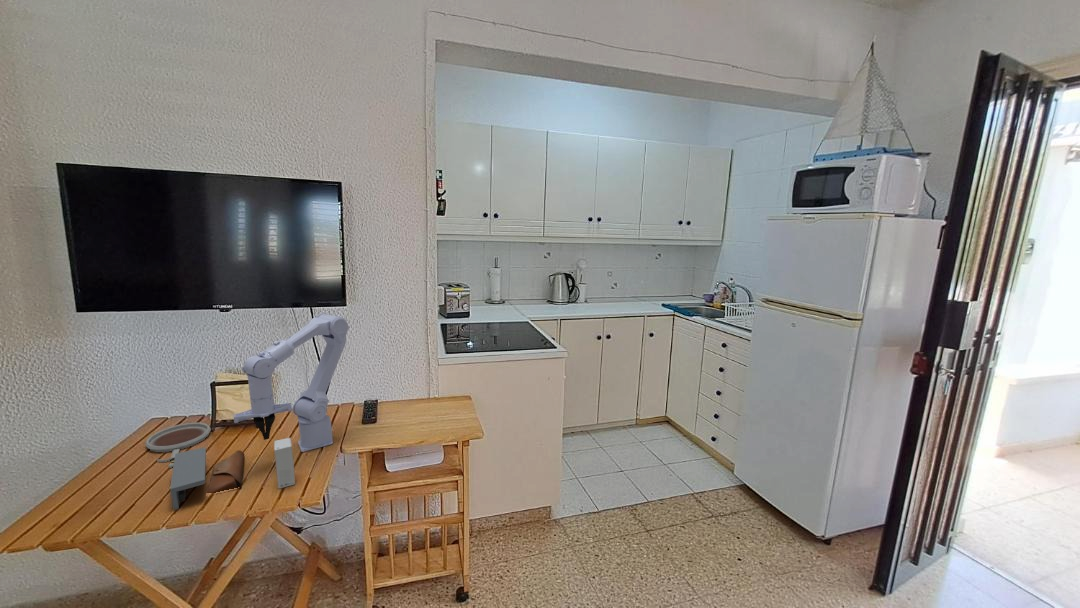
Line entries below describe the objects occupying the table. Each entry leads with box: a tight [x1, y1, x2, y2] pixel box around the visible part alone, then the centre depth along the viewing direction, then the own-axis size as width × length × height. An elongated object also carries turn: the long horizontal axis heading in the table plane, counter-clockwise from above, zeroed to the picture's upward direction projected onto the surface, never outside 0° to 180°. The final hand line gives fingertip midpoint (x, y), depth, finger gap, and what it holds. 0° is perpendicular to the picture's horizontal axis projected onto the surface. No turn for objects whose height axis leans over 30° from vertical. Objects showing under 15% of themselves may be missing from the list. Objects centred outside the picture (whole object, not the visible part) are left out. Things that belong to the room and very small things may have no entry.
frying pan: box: [144, 422, 212, 469], centre depth 140 cm, size 17×3×28 cm
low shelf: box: [169, 446, 207, 511], centre depth 120 cm, size 7×20×6 cm, turn 37°
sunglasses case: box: [205, 449, 246, 494], centre depth 125 cm, size 18×7×7 cm, turn 32°
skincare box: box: [273, 437, 296, 490], centre depth 123 cm, size 6×4×12 cm
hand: (266, 438), depth 130 cm, fingers closed
